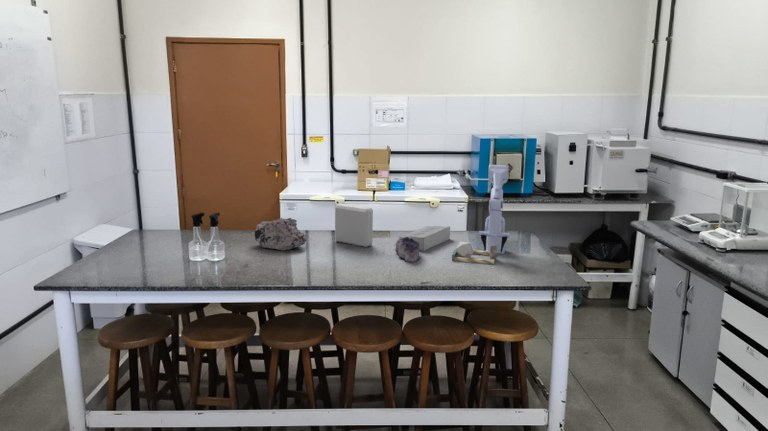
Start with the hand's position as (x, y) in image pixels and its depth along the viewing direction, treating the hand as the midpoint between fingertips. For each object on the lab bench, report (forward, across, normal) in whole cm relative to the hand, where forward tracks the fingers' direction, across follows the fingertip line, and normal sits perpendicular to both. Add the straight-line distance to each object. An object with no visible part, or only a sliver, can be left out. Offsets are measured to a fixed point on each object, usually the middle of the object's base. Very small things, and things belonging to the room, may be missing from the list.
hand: (493, 251), depth 270 cm
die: (+4, -14, -2) cm, 15 cm away
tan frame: (+4, -9, 0) cm, 9 cm away
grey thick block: (+4, -72, +8) cm, 73 cm away
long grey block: (+5, -37, +20) cm, 42 cm away
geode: (+5, -40, -7) cm, 41 cm away
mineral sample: (+4, -106, -9) cm, 107 cm away
